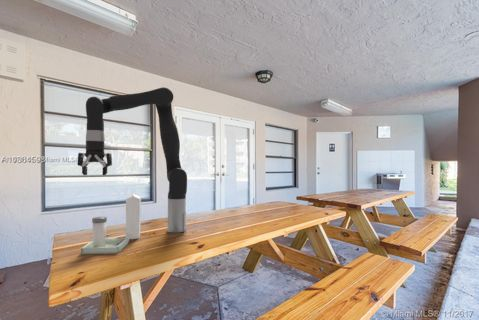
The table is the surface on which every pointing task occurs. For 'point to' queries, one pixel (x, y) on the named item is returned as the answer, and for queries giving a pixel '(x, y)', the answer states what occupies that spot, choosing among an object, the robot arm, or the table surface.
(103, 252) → the tray
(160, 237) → the table surface
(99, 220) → the shaker
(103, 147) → the robot arm
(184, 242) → the table surface
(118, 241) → the ball
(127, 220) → the milk
